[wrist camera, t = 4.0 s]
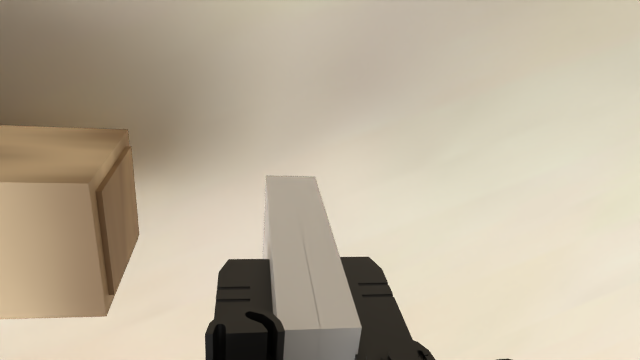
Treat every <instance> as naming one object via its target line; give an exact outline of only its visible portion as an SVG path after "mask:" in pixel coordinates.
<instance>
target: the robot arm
mask: <svg viewBox="0 0 640 360" xmlns="http://www.w3.org/2000/svg"><path fill="white" fill-rule="evenodd" d="M205 348H206V360H435V358H434V357H433V356H432V354H431V353H430V351H429V350H428V349H426V348H425V347H424V346H422V345H421V344H420V343H418V342H416V341H414V340H412V337H411V335H410V333H409V330H408V328H407V326H406V323H405V321H404V319H403V317H402V314H401V312H400V310H399V307H398V305H397V303H396V301H395V298H394V297H393V294H392V291H391V289H390V287H389V285H388V282H387V280H386V278H385V275H384V273H383V271H382V269H381V268H380V267H379V266H378V265H377V264H376V263H375V262H374V261H373V260H372V259H370V258H369V257H340V256H339V253H338V249H337V246H336V243H335V240H334V237H333V233H332V230H331V227H330V224H329V220H328V217H327V214H326V211H325V207H324V204H323V201H322V198H321V195H320V191H319V188H318V185H317V182H316V178H315V177H307V176H266V185H265V211H264V237H263V259H229V260H228V261H227V262H226V264H225V265H224V266H223V267H222V269H221V270H220V271H219V275H218V285H217V295H216V305H215V315H214V320H213V321H212V322H210V323H209V326H208V328H207V331H206V333H205ZM498 360H511V359H498Z"/></svg>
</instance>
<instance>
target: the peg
mask: <svg viewBox="0 0 640 360" xmlns="http://www.w3.org/2000/svg"><path fill="white" fill-rule="evenodd" d="M138 236H139V227H138V216H137V204H136V193H135V182H134V171H133V160H132V149H131V146H130V145H129V134H128V130H126V129H96V128H67V127H37V126H8V125H0V319H27V318H63V317H100V316H107V314H108V311H109V309H110V306H111V304H112V301H113V299H114V296H115V294H116V291H117V289H118V286H119V284H120V282H121V279H122V277H123V274H124V272H125V269H126V267H127V264H128V262H129V259H130V257H131V254H132V252H133V249H134V247H135V245H136V242H137V240H138Z"/></svg>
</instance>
